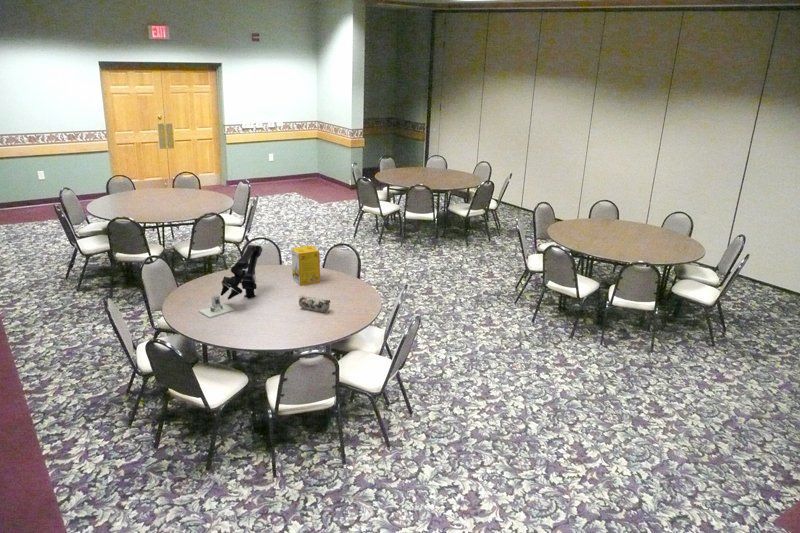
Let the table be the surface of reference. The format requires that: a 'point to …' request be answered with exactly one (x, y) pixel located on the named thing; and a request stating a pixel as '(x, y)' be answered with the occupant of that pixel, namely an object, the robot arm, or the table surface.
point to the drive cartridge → (216, 302)
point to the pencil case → (314, 304)
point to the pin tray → (211, 313)
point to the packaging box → (305, 265)
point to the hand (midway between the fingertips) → (224, 297)
